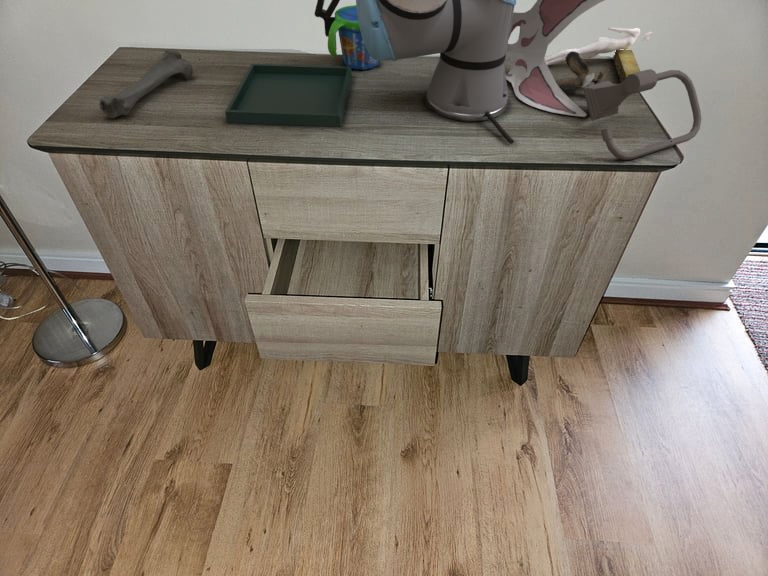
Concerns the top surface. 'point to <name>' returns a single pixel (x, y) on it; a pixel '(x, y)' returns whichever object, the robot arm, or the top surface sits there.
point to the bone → (146, 83)
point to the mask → (542, 53)
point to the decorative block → (625, 63)
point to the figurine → (601, 45)
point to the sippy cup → (350, 39)
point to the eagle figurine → (579, 73)
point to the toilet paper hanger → (610, 96)
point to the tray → (291, 95)
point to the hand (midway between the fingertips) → (361, 53)
